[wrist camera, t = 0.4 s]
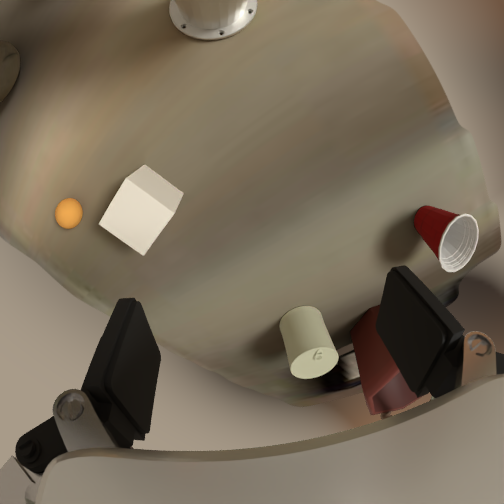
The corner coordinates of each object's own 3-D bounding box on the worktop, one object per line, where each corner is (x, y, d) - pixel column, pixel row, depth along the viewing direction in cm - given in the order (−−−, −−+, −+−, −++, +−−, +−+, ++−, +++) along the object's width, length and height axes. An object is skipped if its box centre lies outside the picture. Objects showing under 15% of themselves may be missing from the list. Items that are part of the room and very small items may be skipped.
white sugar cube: (119, 202, 40) (98, 224, 33) (144, 164, 38) (126, 177, 30) (156, 229, 43) (143, 255, 36) (183, 193, 41) (174, 213, 33)
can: (326, 304, 55) (345, 346, 44) (317, 336, 59) (332, 377, 48) (282, 306, 54) (295, 352, 43) (276, 339, 58) (286, 383, 47)
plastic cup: (445, 191, 45) (485, 213, 34) (438, 238, 50) (472, 266, 39) (406, 193, 44) (447, 218, 34) (400, 245, 50) (434, 277, 39)
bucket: (385, 273, 53) (452, 360, 31) (435, 299, 59) (488, 367, 37) (321, 352, 62) (352, 442, 40) (378, 364, 68) (412, 434, 47)
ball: (60, 200, 39) (45, 210, 34) (80, 190, 38) (66, 199, 34) (70, 225, 41) (57, 237, 37) (91, 216, 41) (79, 228, 36)
